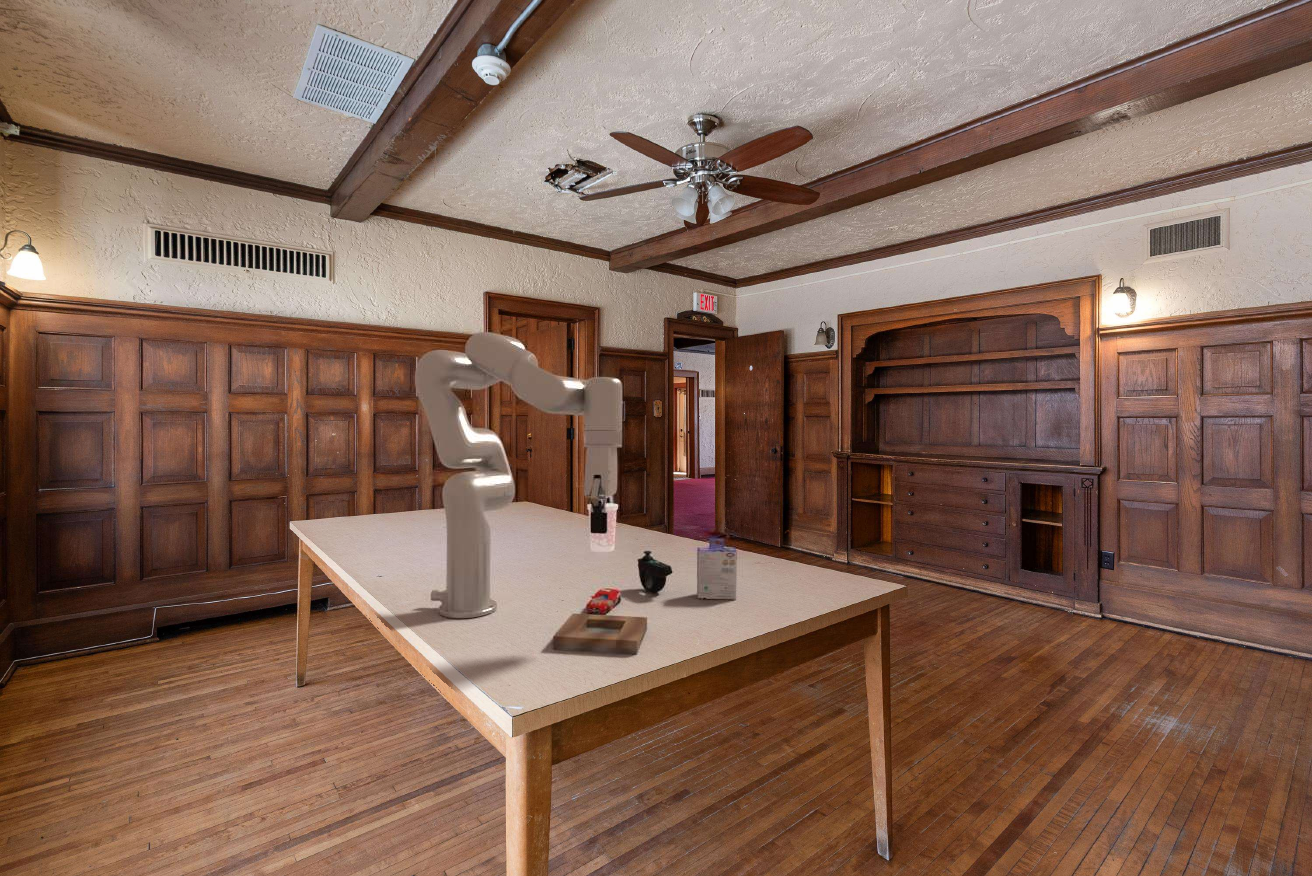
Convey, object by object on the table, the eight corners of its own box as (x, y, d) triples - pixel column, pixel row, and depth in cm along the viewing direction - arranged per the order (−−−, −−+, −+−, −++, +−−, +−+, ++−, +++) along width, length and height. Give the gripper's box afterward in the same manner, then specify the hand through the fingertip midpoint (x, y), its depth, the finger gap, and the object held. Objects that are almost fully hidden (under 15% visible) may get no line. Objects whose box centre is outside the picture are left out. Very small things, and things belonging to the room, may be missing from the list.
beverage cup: (610, 553, 113) (611, 481, 112) (581, 551, 114) (582, 480, 114) (622, 548, 118) (622, 478, 118) (594, 546, 120) (595, 478, 120)
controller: (648, 586, 157) (649, 548, 157) (674, 597, 146) (674, 557, 146) (634, 588, 155) (635, 550, 154) (659, 599, 144) (660, 559, 144)
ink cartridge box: (734, 594, 150) (735, 537, 150) (737, 600, 145) (738, 541, 145) (696, 593, 150) (697, 537, 150) (697, 599, 145) (698, 541, 145)
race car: (604, 618, 131) (604, 600, 130) (582, 615, 132) (582, 598, 132) (624, 601, 143) (624, 585, 143) (604, 599, 145) (604, 583, 145)
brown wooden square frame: (553, 649, 110) (553, 636, 110) (572, 625, 124) (572, 613, 124) (636, 654, 109) (637, 640, 109) (647, 629, 122) (647, 617, 122)
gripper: (594, 439, 125) (593, 523, 125) (573, 440, 108) (572, 537, 108) (628, 439, 124) (628, 524, 124) (613, 440, 107) (612, 538, 107)
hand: (602, 529), depth 116 cm, fingers closed on beverage cup, 6 cm apart
